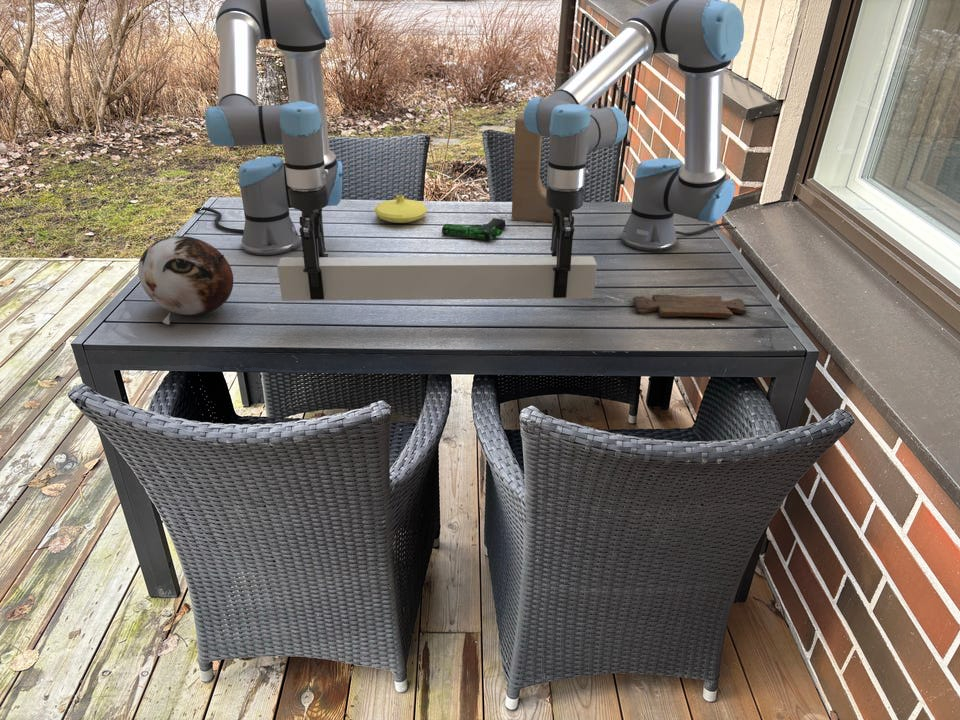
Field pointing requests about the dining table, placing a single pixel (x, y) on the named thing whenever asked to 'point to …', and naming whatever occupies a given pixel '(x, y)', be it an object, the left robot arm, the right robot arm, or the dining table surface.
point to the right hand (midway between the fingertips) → (557, 291)
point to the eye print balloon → (185, 276)
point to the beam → (436, 278)
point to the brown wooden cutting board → (689, 306)
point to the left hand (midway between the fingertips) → (319, 292)
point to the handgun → (476, 230)
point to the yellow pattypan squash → (400, 210)
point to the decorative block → (528, 176)
